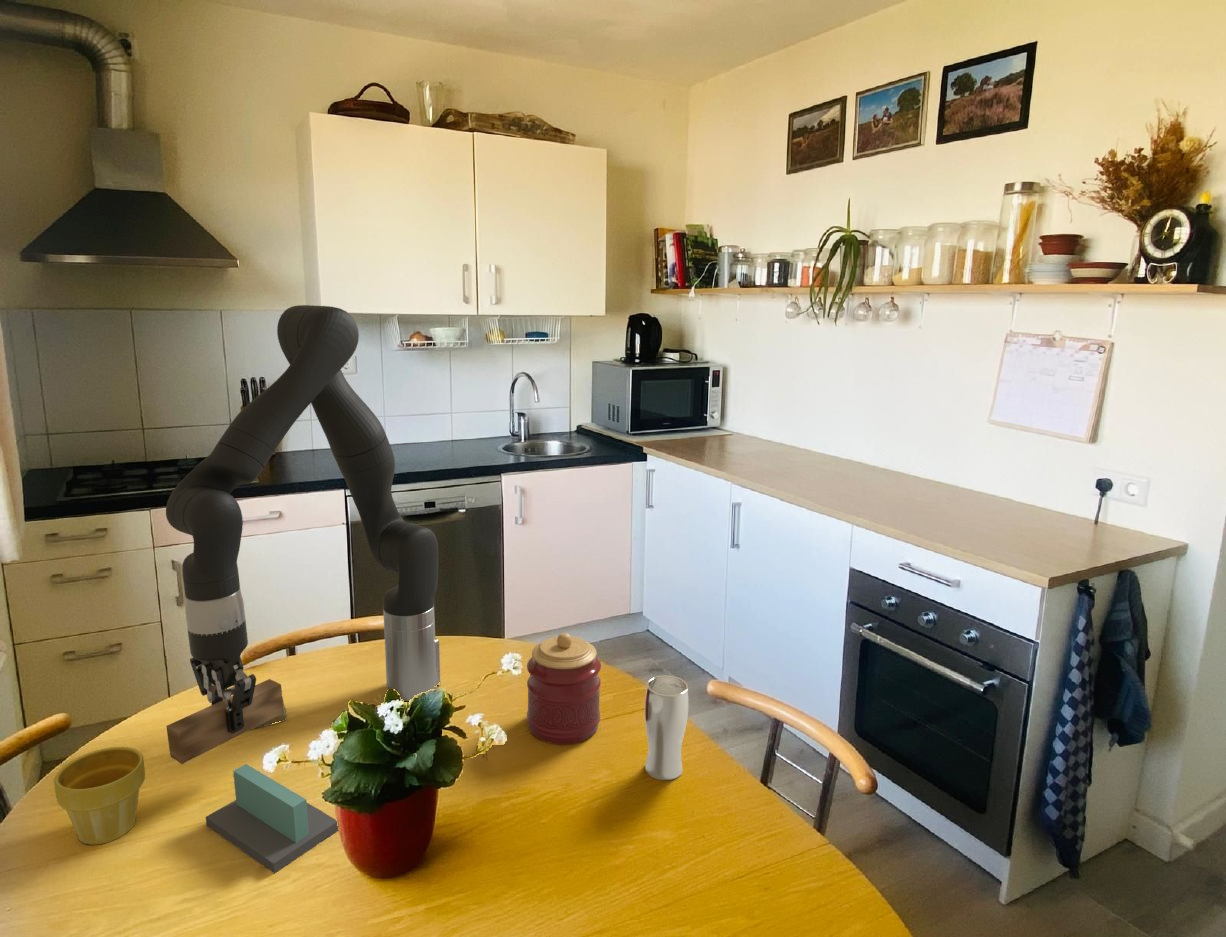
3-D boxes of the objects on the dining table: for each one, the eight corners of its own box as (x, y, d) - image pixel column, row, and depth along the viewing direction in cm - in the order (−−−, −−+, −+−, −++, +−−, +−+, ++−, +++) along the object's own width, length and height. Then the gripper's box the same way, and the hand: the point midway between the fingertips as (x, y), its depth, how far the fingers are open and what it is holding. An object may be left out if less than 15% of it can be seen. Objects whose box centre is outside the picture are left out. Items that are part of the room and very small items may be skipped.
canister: (598, 747, 129) (600, 652, 125) (522, 745, 129) (521, 649, 125) (601, 707, 141) (603, 619, 137) (531, 704, 142) (531, 617, 138)
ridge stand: (270, 789, 116) (267, 748, 114) (338, 830, 107) (335, 786, 106) (206, 825, 108) (201, 782, 106) (274, 873, 99) (270, 827, 98)
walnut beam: (272, 707, 122) (269, 678, 120) (283, 712, 120) (281, 684, 119) (170, 756, 108) (166, 725, 107) (181, 764, 107) (177, 732, 106)
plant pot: (157, 798, 113) (149, 739, 111) (143, 844, 104) (134, 781, 102) (75, 813, 110) (66, 753, 107) (53, 862, 100) (42, 797, 98)
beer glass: (662, 788, 118) (666, 701, 115) (633, 766, 124) (636, 682, 120) (694, 771, 123) (698, 687, 119) (664, 751, 128) (668, 670, 125)
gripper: (269, 623, 109) (280, 729, 113) (214, 600, 117) (226, 701, 121) (218, 643, 103) (232, 754, 107) (164, 618, 111) (178, 723, 115)
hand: (229, 726), depth 114 cm, fingers closed on walnut beam, 3 cm apart
